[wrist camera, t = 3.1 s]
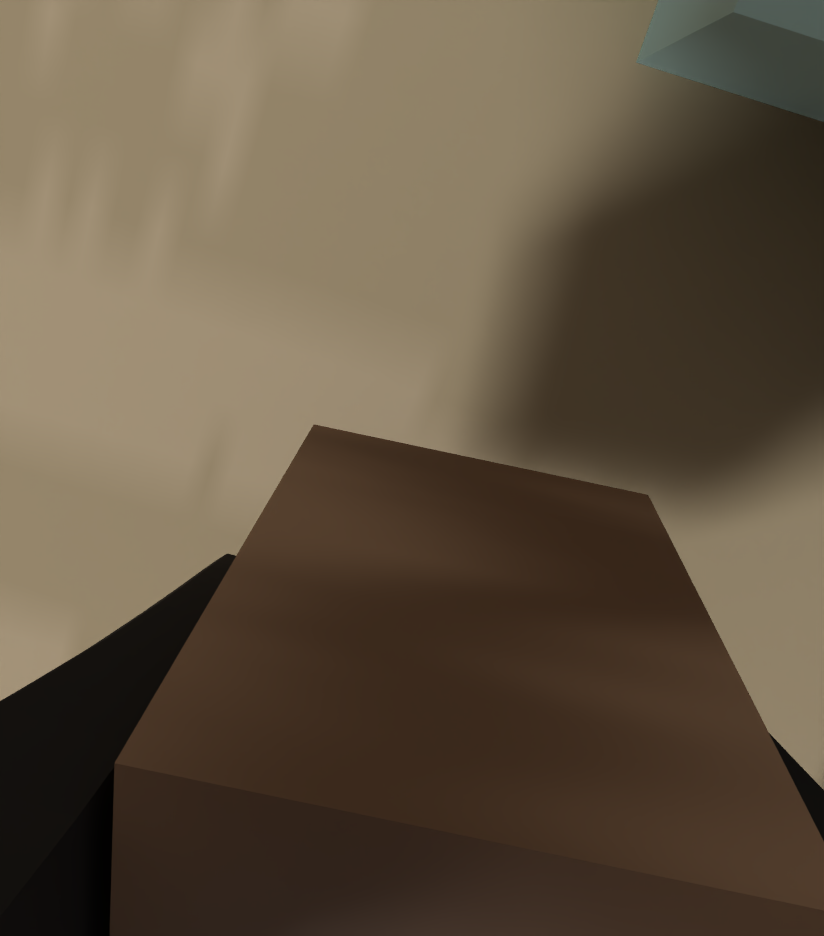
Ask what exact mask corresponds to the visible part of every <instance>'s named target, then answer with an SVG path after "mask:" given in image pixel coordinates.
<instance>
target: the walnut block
mask: <svg viewBox="0 0 824 936" xmlns="http://www.w3.org/2000/svg"><path fill="white" fill-rule="evenodd" d="M110 936H824V841H823V839H822V837H821V835H820V833H819V831H818V829H817V827H816V825H815V823H814V821H813V819H812V817H811V815H810V813H809V811H808V809H807V807H806V805H805V803H804V801H803V800H802V798H801V796H800V794H799V792H798V790H797V788H796V786H795V784H794V782H793V780H792V778H791V776H790V774H789V772H788V770H787V768H786V766H785V764H784V762H783V760H782V758H781V756H780V754H779V752H778V750H777V748H776V746H775V744H774V742H773V740H772V738H771V736H770V734H769V732H768V731H767V729H766V727H765V725H764V723H763V721H762V719H761V717H760V715H759V713H758V711H757V709H756V707H755V705H754V703H753V701H752V699H751V697H750V695H749V693H748V691H747V689H746V687H745V685H744V683H743V681H742V679H741V677H740V675H739V673H738V671H737V669H736V667H735V665H734V664H733V662H732V660H731V658H730V656H729V654H728V652H727V650H726V648H725V646H724V644H723V642H722V640H721V638H720V636H719V634H718V632H717V630H716V628H715V626H714V624H713V622H712V620H711V618H710V616H709V614H708V612H707V610H706V608H705V606H704V604H703V602H702V600H701V598H700V596H699V595H698V593H697V591H696V589H695V587H694V585H693V583H692V581H691V579H690V577H689V575H688V573H687V571H686V569H685V567H684V565H683V563H682V561H681V559H680V557H679V555H678V553H677V551H676V549H675V547H674V545H673V543H672V541H671V539H670V537H669V535H668V533H667V531H666V529H665V527H664V526H663V524H662V522H661V520H660V518H659V516H658V514H657V512H656V510H655V508H654V506H653V504H652V502H651V500H650V498H649V496H648V495H646V494H641V493H636V492H632V491H627V490H622V489H617V488H613V487H608V486H603V485H598V484H594V483H589V482H584V481H579V480H575V479H570V478H565V477H560V476H556V475H551V474H546V473H541V472H537V471H532V470H527V469H522V468H518V467H513V466H508V465H503V464H499V463H494V462H489V461H485V460H480V459H475V458H470V457H466V456H461V455H456V454H451V453H447V452H442V451H437V450H432V449H428V448H423V447H418V446H413V445H409V444H404V443H399V442H394V441H390V440H385V439H380V438H375V437H371V436H366V435H361V434H356V433H352V432H347V431H342V430H337V429H333V428H328V427H323V426H318V425H313V427H312V428H311V430H310V432H309V434H308V435H307V437H306V439H305V440H304V442H303V444H302V445H301V447H300V449H299V451H298V452H297V454H296V456H295V457H294V459H293V461H292V462H291V464H290V466H289V468H288V469H287V471H286V473H285V474H284V476H283V478H282V479H281V481H280V483H279V484H278V486H277V488H276V490H275V491H274V493H273V495H272V496H271V498H270V500H269V501H268V503H267V505H266V507H265V508H264V510H263V512H262V513H261V515H260V517H259V518H258V520H257V522H256V524H255V525H254V527H253V529H252V530H251V532H250V534H249V535H248V537H247V539H246V541H245V542H244V544H243V546H242V547H241V549H240V551H239V552H238V554H237V556H236V558H235V559H234V561H233V563H232V564H231V566H230V568H229V569H228V571H227V573H226V575H225V576H224V578H223V580H222V581H221V583H220V585H219V586H218V588H217V590H216V592H215V593H214V595H213V597H212V598H211V600H210V602H209V603H208V605H207V607H206V609H205V610H204V612H203V614H202V615H201V617H200V619H199V620H198V622H197V624H196V626H195V627H194V629H193V631H192V632H191V634H190V636H189V637H188V639H187V641H186V642H185V644H184V646H183V648H182V649H181V651H180V653H179V654H178V656H177V658H176V659H175V661H174V663H173V665H172V666H171V668H170V670H169V671H168V673H167V675H166V676H165V678H164V680H163V682H162V683H161V685H160V687H159V688H158V690H157V692H156V693H155V695H154V697H153V699H152V700H151V702H150V704H149V705H148V707H147V709H146V710H145V712H144V714H143V716H142V717H141V719H140V721H139V722H138V724H137V726H136V727H135V729H134V731H133V733H132V734H131V736H130V738H129V739H128V741H127V743H126V744H125V746H124V748H123V750H122V751H121V753H120V755H119V756H118V758H117V760H116V761H115V763H114V798H113V833H112V868H111V904H110Z"/></svg>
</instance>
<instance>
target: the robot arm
mask: <svg viewBox="0 0 824 936" xmlns="http://www.w3.org/2000/svg"><path fill="white" fill-rule="evenodd" d="M235 558H236V556H235V555H231V554H226V555H224V556H223V557H221V558H219V559H218V560H216V561H215V562H213V563H212V564H211V565H209V566H208V567H206V568H205V569H203V570H202V571H201V572H199V573H198V574H196V575H195V576H194V577H192V578H191V579H190V580H188V581H187V582H185V583H184V584H183V585H181V586H180V587H178V588H177V589H176V590H174V591H173V592H171V593H170V594H168V595H167V596H166V597H164V598H163V599H161V600H160V601H158V602H157V603H156V604H154V605H153V606H151V607H150V608H149V609H147V610H146V611H144V612H143V613H141V614H140V615H138V616H137V617H135V618H134V619H132V620H131V621H129V622H128V623H126V624H125V625H123V626H122V627H120V628H119V629H117V630H116V631H114V632H113V633H111V634H110V635H108V636H107V637H105V638H104V639H102V640H101V641H99V642H98V643H96V644H94V645H93V646H91V647H90V648H88V649H87V650H85V651H83V652H82V653H80V654H79V655H77V656H75V657H74V658H72V659H70V660H69V661H67V662H65V663H64V664H62V665H60V666H59V667H57V668H55V669H54V670H52V671H50V672H49V673H47V674H45V675H44V676H42V677H40V678H39V679H37V680H35V681H34V682H32V683H30V684H29V685H27V686H25V687H23V688H22V689H20V690H18V691H17V692H15V693H13V694H12V695H10V696H8V697H6V698H5V699H3V700H1V701H0V936H110V904H111V868H112V833H113V798H114V763H115V761H116V760H117V758H118V756H119V755H120V753H121V751H122V750H123V748H124V746H125V744H126V743H127V741H128V739H129V738H130V736H131V734H132V733H133V731H134V729H135V727H136V726H137V724H138V722H139V721H140V719H141V717H142V716H143V714H144V712H145V710H146V709H147V707H148V705H149V704H150V702H151V700H152V699H153V697H154V695H155V693H156V692H157V690H158V688H159V687H160V685H161V683H162V682H163V680H164V678H165V676H166V675H167V673H168V671H169V670H170V668H171V666H172V665H173V663H174V661H175V659H176V658H177V656H178V654H179V653H180V651H181V649H182V648H183V646H184V644H185V642H186V641H187V639H188V637H189V636H190V634H191V632H192V631H193V629H194V627H195V626H196V624H197V622H198V620H199V619H200V617H201V615H202V614H203V612H204V610H205V609H206V607H207V605H208V603H209V602H210V600H211V598H212V597H213V595H214V593H215V592H216V590H217V588H218V586H219V585H220V583H221V581H222V580H223V578H224V576H225V575H226V573H227V571H228V569H229V568H230V566H231V564H232V563H233V561H234V559H235ZM769 734H770V733H769ZM770 736H771V734H770ZM771 738H772V740H773V742H774V744H775V746H776V748H777V750H778V752H779V754H780V756H781V758H782V760H783V762H784V764H785V766H786V768H787V770H788V772H789V774H790V776H791V778H792V780H793V782H794V784H795V786H796V788H797V790H798V792H799V794H800V796H801V798H802V800H803V801H804V803H805V805H806V807H807V809H808V811H809V813H810V815H811V817H812V819H813V821H814V823H815V825H816V827H817V829H818V831H819V833H820V835H821V837H822V839H823V841H824V790H823V789H822V788H821V787H820V786H819V785H818V784H817V783H816V782H815V781H814V780H813V779H812V778H811V777H810V776H809V774H808V773H807V772H806V771H805V770H804V769H803V768H802V767H801V766H800V765H799V764H798V763H797V762H796V761H795V760H794V759H793V758H792V757H791V756H790V755H789V754H788V752H787V751H786V750H785V749H784V748H783V747H782V746H781V745H780V744H779V743H778V742H777V741H776V740H775V739H774V738H773V737H772V736H771Z"/></svg>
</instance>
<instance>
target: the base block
mask: <svg viewBox="0 0 824 936" xmlns="http://www.w3.org/2000/svg"><path fill="white" fill-rule="evenodd" d="M636 63H640V64H643V65H646V66H649V67H652V68H655V69H658V70H662V71H665V72H668V73H671V74H674V75H677V76H680V77H684V78H687V79H690V80H693V81H696V82H699V83H703V84H706V85H709V86H712V87H715V88H718V89H721V90H725V91H728V92H731V93H734V94H737V95H740V96H743V97H747V98H750V99H753V100H756V101H759V102H762V103H765V104H769V105H772V106H775V107H778V108H781V109H784V110H787V111H791V112H794V113H797V114H800V115H803V116H806V117H809V118H813V119H816V120H819V121H822V122H824V0H658V3H657V6H656V9H655V11H654V14H653V17H652V20H651V23H650V25H649V28H648V31H647V34H646V36H645V39H644V42H643V45H642V47H641V50H640V53H639V56H638V59H637V61H636Z"/></svg>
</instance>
